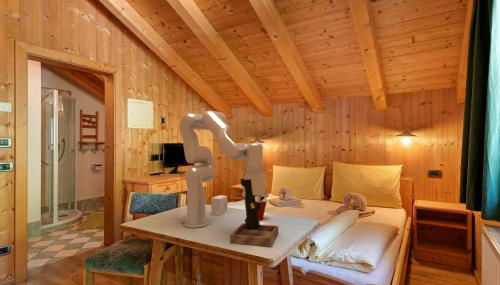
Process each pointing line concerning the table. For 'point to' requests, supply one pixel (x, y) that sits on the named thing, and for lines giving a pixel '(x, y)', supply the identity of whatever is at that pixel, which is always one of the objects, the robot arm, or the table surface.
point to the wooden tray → (255, 235)
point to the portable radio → (250, 206)
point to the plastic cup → (262, 210)
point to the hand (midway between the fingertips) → (255, 210)
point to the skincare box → (218, 205)
